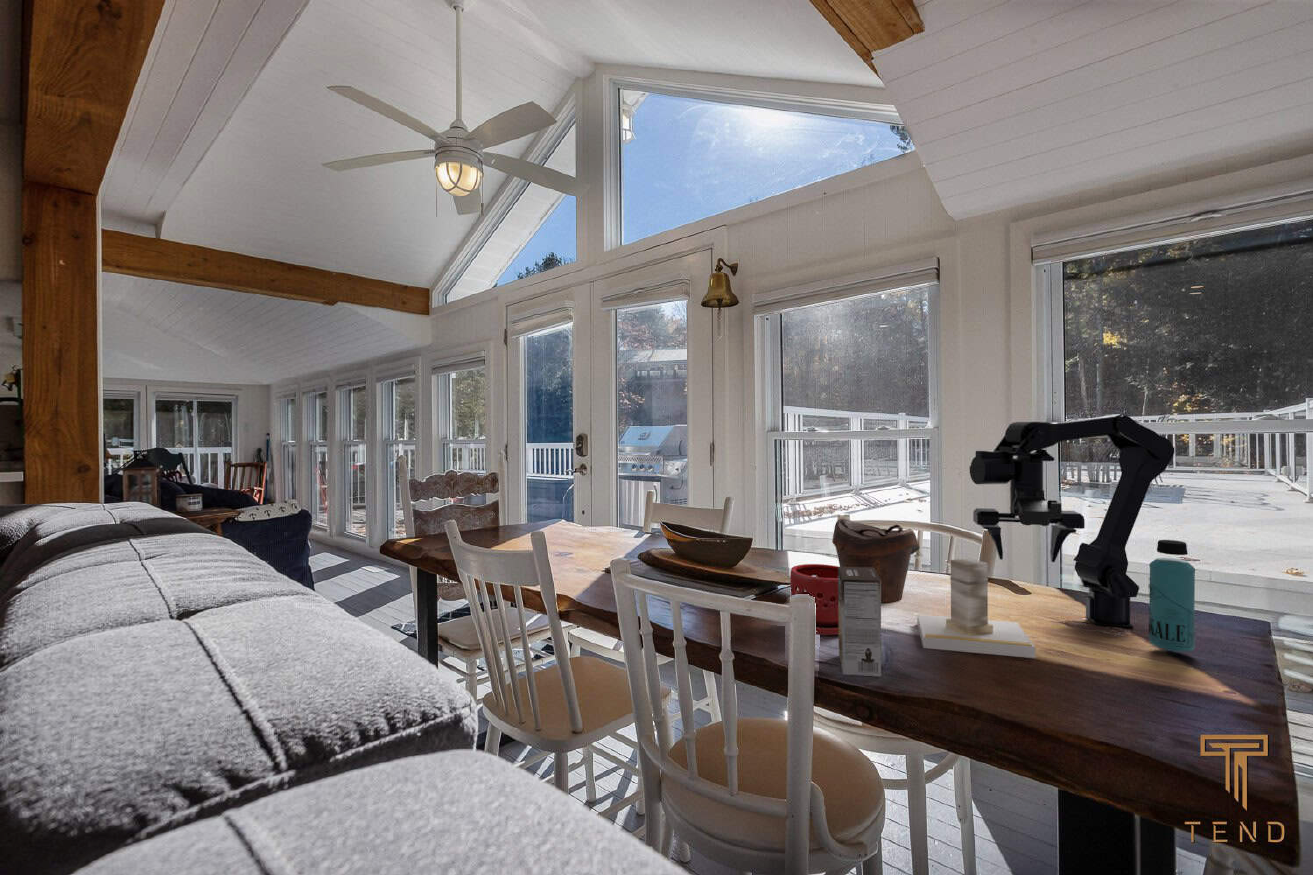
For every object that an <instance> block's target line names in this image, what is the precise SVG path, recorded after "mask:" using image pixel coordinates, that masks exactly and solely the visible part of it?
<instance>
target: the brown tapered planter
mask: <svg viewBox="0 0 1313 875" xmlns="http://www.w3.org/2000/svg"><path fill="white" fill-rule="evenodd" d="M894 529H896V530H894ZM897 529H898V530H897ZM832 534H833V535H832V541H831V542H832V544H833V545H834V546H835V549H836V550H835V551H836V555H837V560H838V563H839V567H874V568H875V570H876V572H877V574H878V576H879V578H880V580H881V603H893V602H898V601H900V600H902V599H903V595H904V589H905V584H906V579H907V576H908V570H909V565H910V562H911V561H910V560H911V555H913V554H915V553H917V552H918V551H919V549H920V545H919V542H918V539H917V536H916V533H915V531H914V530H913V529H912V528H908V529H904V528H903V527H902V526H901V525H899V524H894V525H892V526H890V527H889V528H887V529H886V528H885V529H884V528H881V527H877V526H873V525H868V524H864V523H861V522H857V521H854V520H850V519H846V518H839V519H838V520H836V522H835V524H834V529H833V533H832Z"/></svg>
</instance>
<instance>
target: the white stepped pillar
mask: <svg viewBox="0 0 1313 875" xmlns="http://www.w3.org/2000/svg"><path fill="white" fill-rule="evenodd" d="M988 570H989V568H988V562H984V561H981V560H978V559H973V558H971V557H968V558H957V559H950V617H951V619H946V627H948V628H950V629H952V630H954V631H957V632H959V633H961V634H964V635H966V636H975V635H983V634H991V633H993V625H991V624H989V623H988V620H989V619H988V618H989V617H988V616H989V613H988V612H989V610H988V609H989V607H988V606H989V605H988V604H989V603H988V602H989V600H988V599H989V598H988V596H989V594H988V592H989V591H988V590H989V588H988V585H989V580H988V578H989V577H988V573H989V572H988Z"/></svg>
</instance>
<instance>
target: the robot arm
mask: <svg viewBox="0 0 1313 875" xmlns="http://www.w3.org/2000/svg"><path fill="white" fill-rule="evenodd" d="M1103 436H1106V437H1107V438H1108V441H1109V442H1110V443H1111V446H1113V447H1114V448H1116V449H1117V450H1118V451H1119V456H1118V464H1119V468H1120V472H1121V474H1120V478H1119V479H1118V483H1117V485H1116V487H1115V491H1114V493H1113V495H1112V497H1111V500H1110V502H1109V506H1108V508H1107V511H1106V513H1105V515H1104V518H1103V521H1102V524H1101V526H1100V528H1099V531H1098V533H1097V535H1096V537H1095V539H1094V540H1093V541H1091V542H1090V543H1086V542H1081V543H1080V545H1079V548H1078V552H1077V554H1076V556H1075V557H1074V558H1073V561H1074V562H1075V563H1074V571H1075V573H1076V574H1077V576H1078V577H1079V578H1080V581H1081V583H1082V587H1083V588H1087V589H1088V595H1086V596H1085V616H1086V618H1088V619H1089V620H1090V621H1091V622H1092V623H1094V625H1097V626H1109V627H1119V628H1120V627H1123V628H1134V627H1135V625H1134V623H1132V622H1131V598H1136V597H1137V596H1138V593H1139V590H1140V586H1139V585H1138V584H1137V583H1136V582H1135V581H1134V580H1133V579H1132V578H1131V577H1130V576H1129V575H1128V574H1127V571H1128V566H1129V561H1128V560H1129V559H1128V555H1127V551H1126V546H1127V543H1128V542H1129V538H1130V537H1131V533H1132V531H1133V528H1134V526H1135V524H1136V520H1137V518H1138V515H1139V513H1140V510H1141V508H1142V506H1143V503H1144V500H1145V498H1146V495H1147V493H1148V490H1149V488H1150V485H1151V484H1152V481H1154V480H1156V479H1157V478H1158V476H1160V475H1161V474H1162V473H1164V472H1165V471H1166V470H1167V467H1168V466H1169V465H1170V463H1171V461H1172V460H1173V458H1174V455H1175V447H1174V446H1173V444H1172V442H1171V441H1170V440H1169V439H1168V438H1167V437H1165V436H1161V435H1160V434H1159V433H1157V432H1156V431H1155V430H1152V429H1151V428H1148V427H1146V426H1144V425H1142V424H1140V423H1138V422H1136V421H1135V420H1134V418H1131V417H1130V416H1128V415H1126V414H1105V415H1103V416H1097V417H1096V416H1095V417H1090V418H1081V419H1075V420H1074V419H1073V420H1066V421H1057V422H1051V421H1050V422H1049V421H1048V422H1047V421H1015V422H1014V421H1013V422H1011V423H1010V424H1008V427H1007V428H1006V430H1005V433H1004V436H1003V438H1001V440H1000V441H999V443H998V444H997V446H996V447H995V448H994V449H993V451H988V450H976V451H975V457H973V459H972V461H971V463H970V466H969V475H970V478H971V480H972V482H973V483H974V484H976V485H1006V484H1008V483H1010V484H1009V486H1010V487H1009V495H1010V497H1009V501H1010V502H1009V505H1010V506H1009V512H1000V511H998V510H997V509H996V508H979V507H977V508H975V509H974V510H973V512H972V516H973V519H972V521H973V522H974V523H975V524H976V525H978V526H981V528H983V529H984V530H987V531H988V533H989V536H990V537H991V539H992V542H993V545H994V548H995V550H996V552H997V556H998V557H999V560H1002V561H1003V558H1004V551H1003V543H1002V542H1003V541H1002V527H1001V526H1000V525H999V523H1001V522H1002V523H1004V522H1005V523H1020V524H1021V525H1023V526H1032V525H1033V526H1034V525H1035V526H1042V527H1048V526H1049V525H1050V524H1052V525H1051V532H1050V550H1049V553H1050V562H1051V563H1055V562H1056V560H1057V557H1058V555H1059V553H1060V550H1061V548H1062V546H1063V543H1064V542H1065V540H1066V539H1067V537H1068V536H1069V535H1070V534H1073V533H1077V529H1078V530H1079V529H1082V530H1083V529H1085V523H1086V522H1085V520H1086V519H1085V517H1084V515H1083V514H1082V513H1079V512H1077V511H1075V510H1062V501H1061V500H1060V499H1048V500H1046V498H1045V490H1044V462H1054V461H1055V457H1054V456H1052V454H1049V453H1048V452H1047V450H1046V449H1047V448H1050V447H1053V446H1055V445H1057V444H1058V443H1061V442H1064V441H1071V440H1079V439H1088V438H1095V437H1103Z"/></svg>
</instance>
